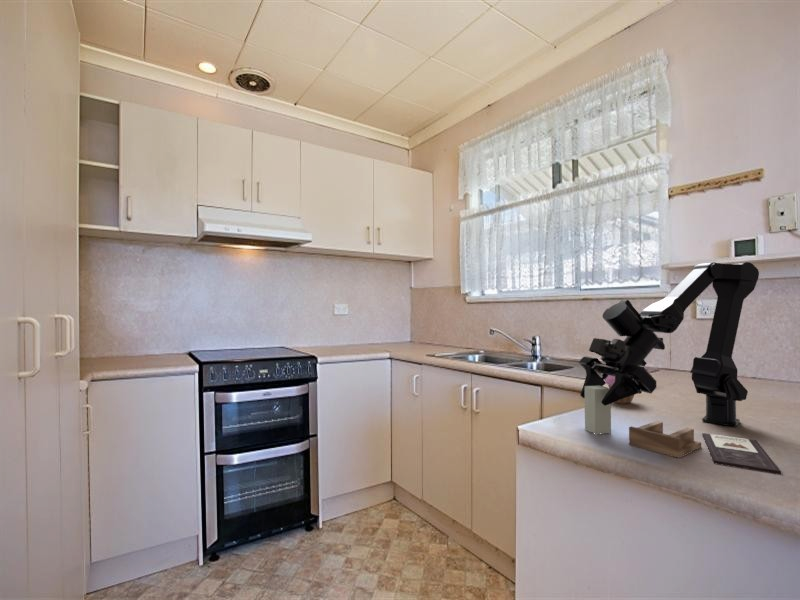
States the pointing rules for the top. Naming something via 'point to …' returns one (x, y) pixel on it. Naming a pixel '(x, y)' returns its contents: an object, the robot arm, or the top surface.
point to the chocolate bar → (739, 453)
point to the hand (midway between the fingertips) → (592, 400)
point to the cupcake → (610, 382)
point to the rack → (663, 439)
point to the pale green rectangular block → (597, 410)
